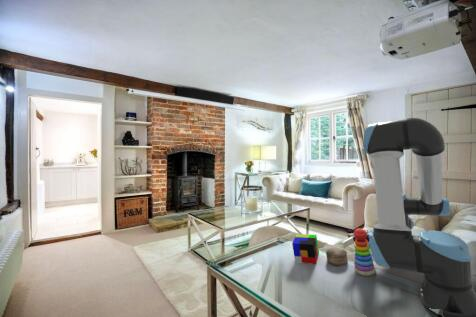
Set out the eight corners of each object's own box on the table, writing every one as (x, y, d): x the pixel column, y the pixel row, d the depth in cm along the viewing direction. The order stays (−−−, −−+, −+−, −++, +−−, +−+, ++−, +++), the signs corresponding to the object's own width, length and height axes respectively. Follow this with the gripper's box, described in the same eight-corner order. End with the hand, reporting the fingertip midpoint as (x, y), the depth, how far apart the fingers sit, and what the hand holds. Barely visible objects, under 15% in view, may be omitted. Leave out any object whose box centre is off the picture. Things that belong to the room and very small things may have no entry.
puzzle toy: (295, 262, 116) (292, 243, 115) (299, 251, 125) (296, 234, 124) (316, 264, 111) (313, 244, 110) (319, 253, 120) (316, 234, 119)
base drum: (352, 262, 108) (350, 254, 107) (334, 268, 106) (333, 259, 105) (339, 253, 116) (338, 246, 116) (323, 258, 115) (322, 251, 114)
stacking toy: (378, 276, 96) (373, 232, 94) (357, 277, 97) (351, 234, 95) (371, 265, 103) (366, 224, 101) (352, 266, 105) (346, 226, 103)
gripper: (419, 250, 96) (388, 272, 87) (363, 232, 119) (333, 248, 109) (417, 233, 96) (386, 253, 86) (361, 218, 118) (331, 233, 109)
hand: (356, 250), depth 98 cm, fingers open, 13 cm apart
